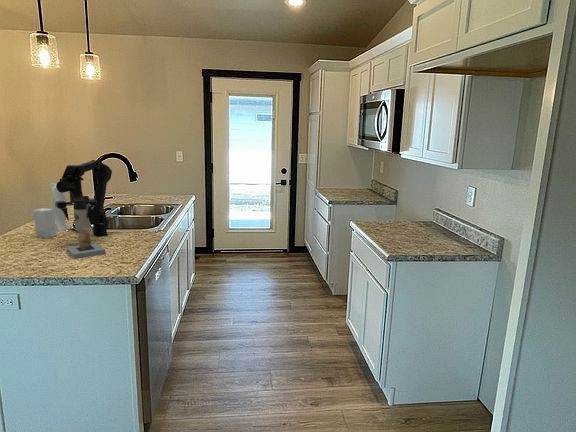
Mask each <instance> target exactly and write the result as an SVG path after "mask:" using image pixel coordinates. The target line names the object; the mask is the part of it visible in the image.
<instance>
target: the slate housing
mask: <svg viewBox="0 0 576 432" xmlns="http://www.w3.org/2000/svg"><path fill="white" fill-rule="evenodd" d="M65 250H66V253H67V254H68V255H69V256H70V257H71V258H72V259H73V260H75V259H80V258H88V257H93V256H94V257H95V256H101V255H105V254H106V249H105V248H103V247H102V246H101V245H99V244H98V243H95V242H94V243H91V250H85V251H80V245H74V246H67V247H66V248H65Z"/></svg>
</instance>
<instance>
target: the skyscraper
mask: <svg viewBox="0 0 576 432" xmlns="http://www.w3.org/2000/svg"><path fill="white" fill-rule="evenodd" d="M52 185H53V186H52ZM56 185H57V183H49V187H50V188H51V189H50V190H51V191H52V196H51V209H54V217H55V225H56V232H61V231H68V230H69V228H68V225H67V223H66V221H67V218H66V216H65V214H64V212H63V211H62V210H61V209H59V208H57V207H55V202H56V201H65V202H67V199H66V195H65V194H64V193H65V192H63V193H61V192H59V191H58V190H57V188H56ZM66 208H67V209H68V206H66Z"/></svg>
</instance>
